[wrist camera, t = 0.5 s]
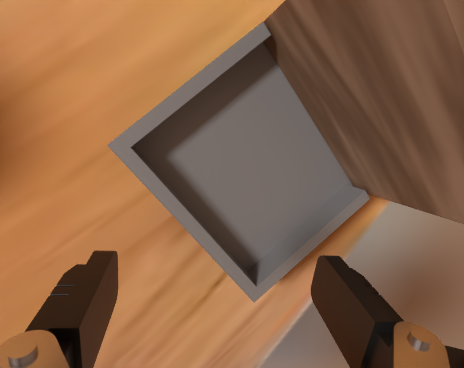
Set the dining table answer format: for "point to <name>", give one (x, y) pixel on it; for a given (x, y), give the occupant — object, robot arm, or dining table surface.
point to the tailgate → (382, 92)
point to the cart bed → (242, 166)
